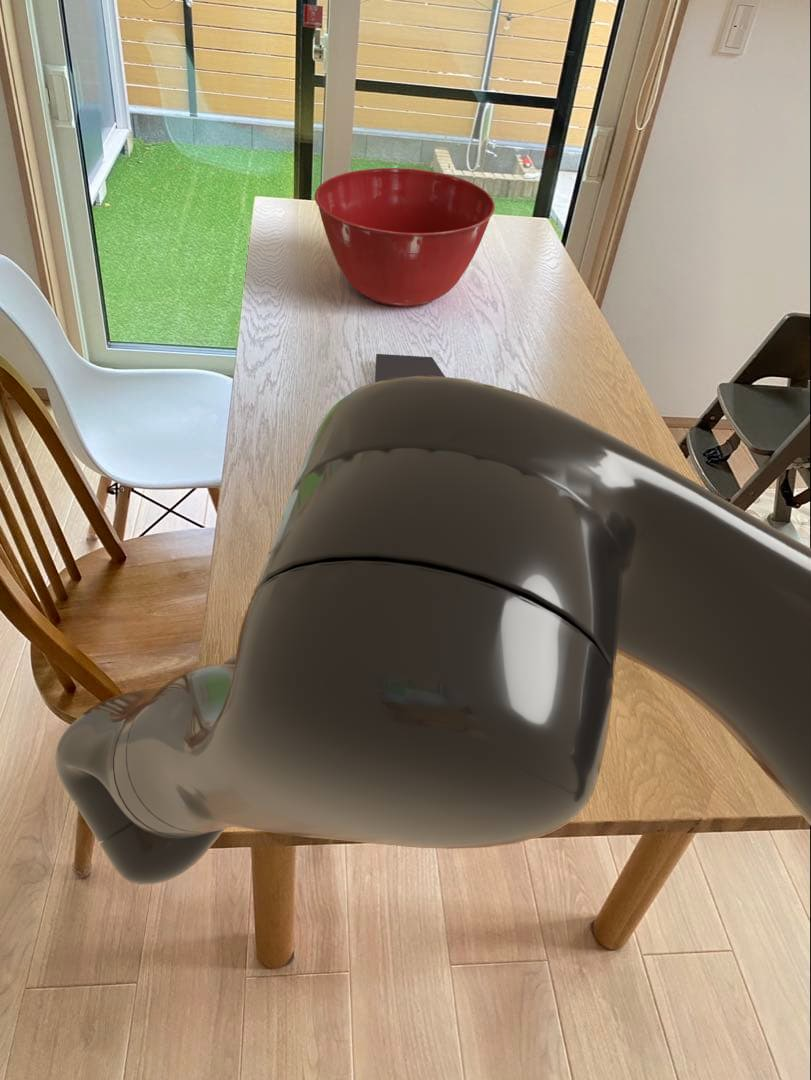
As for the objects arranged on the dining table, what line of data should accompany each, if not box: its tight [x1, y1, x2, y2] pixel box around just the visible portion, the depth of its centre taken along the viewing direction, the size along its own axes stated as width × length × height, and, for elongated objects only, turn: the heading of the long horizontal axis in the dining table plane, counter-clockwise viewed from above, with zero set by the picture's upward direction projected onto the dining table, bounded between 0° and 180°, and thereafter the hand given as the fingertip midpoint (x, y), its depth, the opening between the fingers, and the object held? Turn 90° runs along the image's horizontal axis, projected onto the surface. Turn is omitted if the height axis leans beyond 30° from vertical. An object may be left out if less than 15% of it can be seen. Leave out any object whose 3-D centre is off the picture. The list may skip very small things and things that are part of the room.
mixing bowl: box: [314, 167, 496, 308], centre depth 128 cm, size 28×28×15 cm
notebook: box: [374, 353, 446, 383], centre depth 107 cm, size 13×2×21 cm
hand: (509, 535), depth 63 cm, fingers open, 8 cm apart
